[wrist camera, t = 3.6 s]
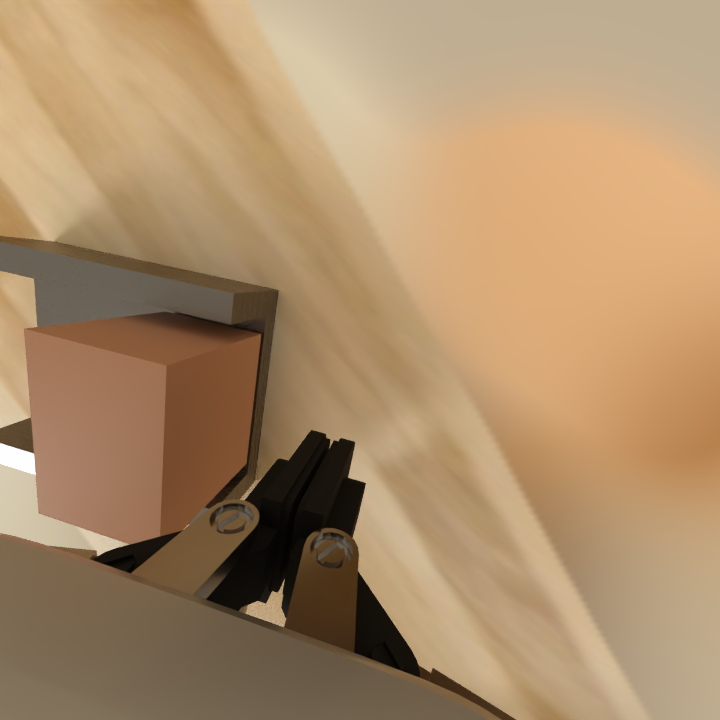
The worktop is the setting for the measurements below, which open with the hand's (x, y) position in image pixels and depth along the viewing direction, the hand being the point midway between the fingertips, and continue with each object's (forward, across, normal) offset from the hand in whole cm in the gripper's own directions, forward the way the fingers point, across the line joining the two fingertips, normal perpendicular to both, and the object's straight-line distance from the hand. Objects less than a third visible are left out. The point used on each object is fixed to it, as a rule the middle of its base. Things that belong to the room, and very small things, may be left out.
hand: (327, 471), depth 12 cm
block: (+4, +7, 0) cm, 8 cm away
